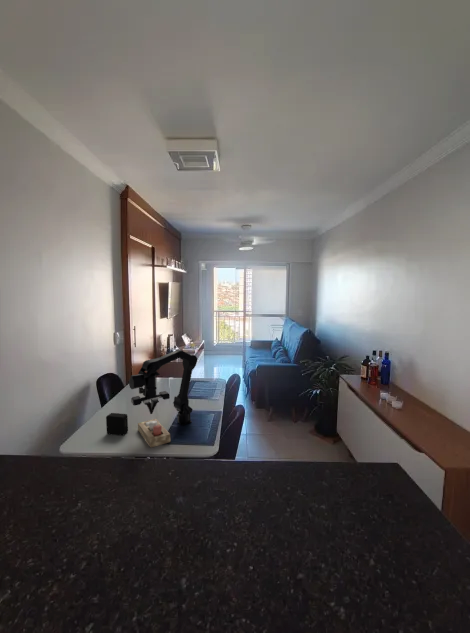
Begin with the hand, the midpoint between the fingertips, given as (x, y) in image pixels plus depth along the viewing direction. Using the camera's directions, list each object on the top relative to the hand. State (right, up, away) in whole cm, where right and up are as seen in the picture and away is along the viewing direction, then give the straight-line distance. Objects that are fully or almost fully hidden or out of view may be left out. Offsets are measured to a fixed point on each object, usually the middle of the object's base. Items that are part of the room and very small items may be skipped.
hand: (151, 413), depth 155 cm
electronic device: (-19, -11, +3) cm, 22 cm away
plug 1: (-2, -10, +4) cm, 11 cm away
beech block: (+2, -11, -1) cm, 11 cm away
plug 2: (+2, -8, -1) cm, 8 cm away
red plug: (+5, -8, -7) cm, 12 cm away
